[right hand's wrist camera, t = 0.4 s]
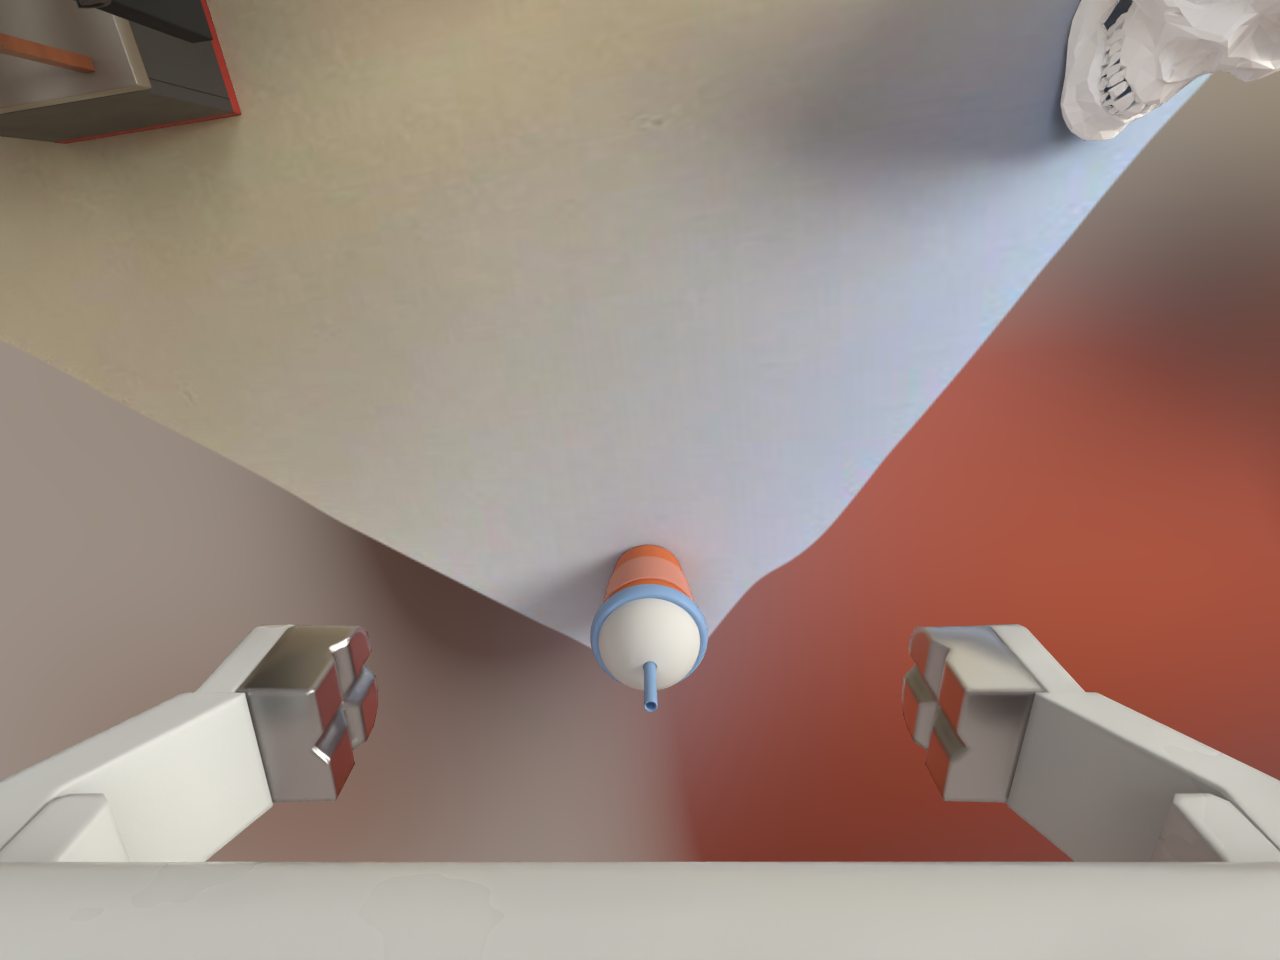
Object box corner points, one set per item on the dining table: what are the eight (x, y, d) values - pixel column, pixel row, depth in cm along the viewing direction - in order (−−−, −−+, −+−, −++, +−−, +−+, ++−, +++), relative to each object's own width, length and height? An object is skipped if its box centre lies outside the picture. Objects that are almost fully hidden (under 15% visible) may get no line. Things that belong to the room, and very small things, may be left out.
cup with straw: (588, 607, 65) (571, 747, 48) (608, 519, 62) (596, 637, 45) (684, 625, 65) (700, 769, 49) (708, 539, 62) (734, 663, 45)
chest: (191, -46, 47) (66, -117, 36) (241, 114, 50) (139, 91, 40) (2, -13, 47) (-173, -73, 37) (64, 143, 51) (-80, 127, 41)
